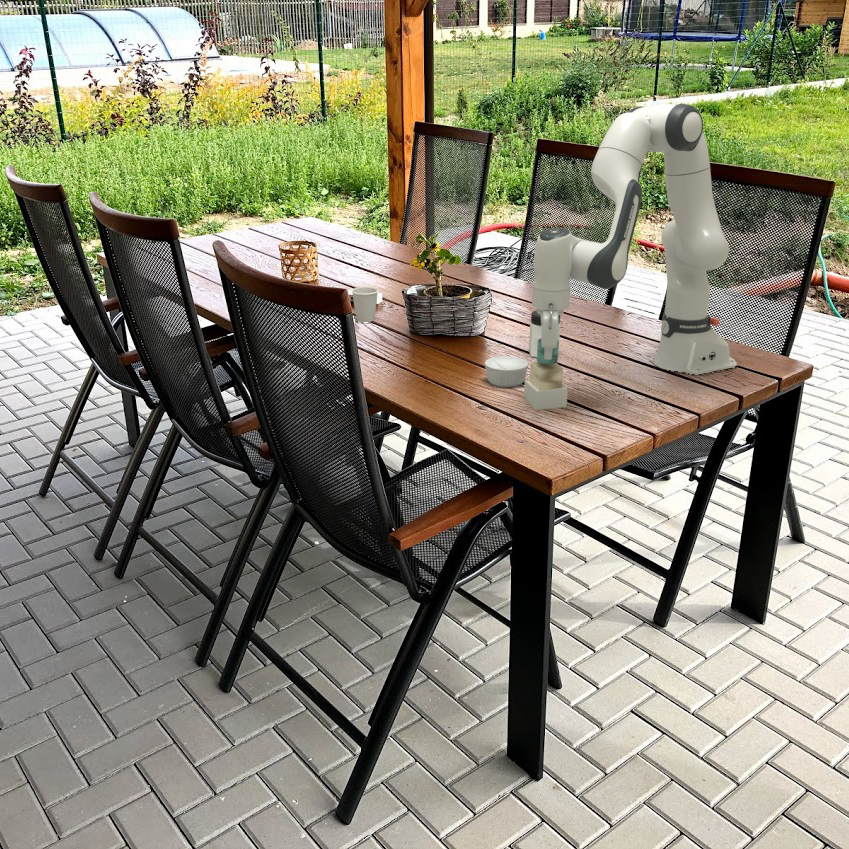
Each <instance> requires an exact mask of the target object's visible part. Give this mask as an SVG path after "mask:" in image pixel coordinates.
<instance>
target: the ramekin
mask: <svg viewBox="0 0 849 849" xmlns="http://www.w3.org/2000/svg"><path fill="white" fill-rule="evenodd" d="M484 368H485V371H486V378H487V381H488V382H489V384H491V385H493V386H496V387H500V388H501V387H502V388H512V387H518V386H520V385H522V384H524V383H525V380H526V375H527V371H528V368H529V362H528V361H527V360H526V359H524V358H521V357H518V356H511V355H509V356H507V355H500V356H493V357H490V358H488V359H487V360H485V361H484Z"/></svg>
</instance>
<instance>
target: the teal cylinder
mask: <svg viewBox="0 0 849 849" xmlns="http://www.w3.org/2000/svg"><path fill="white" fill-rule="evenodd" d="M558 345H559V346H560V340H559V341H557V347H556V348H553V350H552V359H551V360H545V359H544V348H543V347H542V346H541V339H539V340H538V346H537V358H536V362H539V363H542V364H554V363H557V364H558V362H559V360H558V359H559V353H558Z"/></svg>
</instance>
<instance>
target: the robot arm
mask: <svg viewBox="0 0 849 849" xmlns="http://www.w3.org/2000/svg"><path fill="white" fill-rule="evenodd" d="M647 152H651V153H660V152H663V154H664V175H665V176H664V177H665V186H666V195H667V196H666V197H667V203H668V207H669V208H670V211H671V213H672V216H673V218H674V219H671V221H669V222H668V223H667V224H666V225H665V226H664V227H663V230H662V233H661V243H662V246H663V249H664V254H665V255H664V256H665V258H664V259H665V268H666V282H667V283H666V295H665V296H666V298H665V307H664V312H663V314H662V319H661V326H660V327H661V335H660V340H659V344H658V348H657V350H656V354H655V356H654V359H653V362H652V363H653V365H655V366H657V367H658V368H660V369H662V370H665V369H666V371H669V370H671V371H670V372H674V371H678V372H677V373H682V372H686V373H685V374H688V373H689V374H688V375H692V374H695V375H694V376H699V375H698V374H702V373H706V372H711V371H716V370H721V369H726V368H731V367H735V366H737V367H738V364H737V361H736V360H735V359H734V358H733V357H731V356H730V347H729V344H728V342H727V341H726V340H725V339H724V338H723V337H722V336H720V335H719V334H718V333H717V332H715V330H713V329H712V326H714V327H718V326H719V325H720V319H719V318H716V317H711V316H710V315H708V309H709V301H710V293H711V287H710V286H711V285H710V282H709V278H708V275H707V271H714V270H716V269H718V268H720V267H721V266H722V265H724V264H725V262H726V260H727V258H728V256H729V253H730V245H729V243H728V240H727V239H726V237H725V234H724V232H723V230H722V227H721V222H720V219H719V214H718V212H717V208H716V204H715V201H714V196H713V195H714V194H713V187H712V175H711V174H712V173H711V163H710V155H709V149H708V144H707V141H706V136H705V133H704V120H703V117H702V115H701V113H700V110H698V108H697V107H696V106H694V105H691V104H686V103H678V104H677V103H658V104H654V105H647V106H641V105H640V106H636V107H634V108H631V109H629V110H628V111H626V112H623V113H622V114H619V115H617V117H616V118H615V119H614V121H613V122H612V124H611V125H610V126H609V128H608V130H607V131H606V133H605V135H604V137H603V139H602V141H601V143H600V145H599V147H598V149H597V152H596V154H595V157H594V159H593V161H592V165H591V170H590V174H591V180H592V181H593V183H594V185H595V186H596V188H597V189H598V190H599V191H600V192H601V193H602V194H603V195H605V196H606V197H607V198H609V199H610V200H612V201H613V202H614V206H615V211H614V216H613V219H612V222H611V226H610V230H609V233H608V238H607V240H606V241H604V242H596V241H593V240H592V241H591V240H587V239H582V238H581V237H578V236H574V235H573V234H572V232H571V231H570V230H569V229H568V228H565V227H564V228H563V227H553V228H552V227H550V228H547V229H544V230H543V231H541V232H540V233H539V234H538V236H537V238H536V239H537V240H536V243H535V247H534V254H533V255H534V256H533V271H534V279H533V283H532V289H531V290H532V294H531V306H532V307H533V308H535V309H536V310H537V313H538V314H540V316H541V346H542V347H543V348H544V359H545V360H551V359H552V350H553V348H556V347H557V341H558V322H559V318H558V316H559V315H560V316H561V315H563V314H564V310H566V309H568V308H569V307H570V300H571V280H575V281H578V282H582V283H586V284H589V285H592V286H595V287H597V288H601V289H604V290H609V289H611V288H613V287H615V286H616V285H618V284H619V283H620V282H621V281H622V280H623V279H624V277H625V276H626V273H627V269H628V262H629V255H630V248H631V244H632V241H633V236H634V233H635V230H636V226H637V221H638V218H639V213H640V210H641V204H642V200H643V198H642V197H643V188H642V185H641V184H640V183H639V175H640V174H639V173H640V171H641V168H642V165H643V164H644V161H645V158H646V156H647ZM702 375H703V374H702Z"/></svg>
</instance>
